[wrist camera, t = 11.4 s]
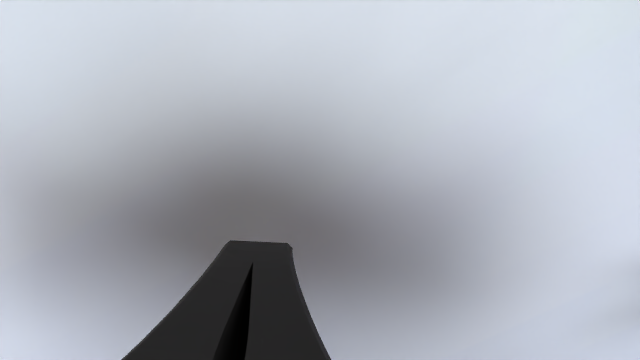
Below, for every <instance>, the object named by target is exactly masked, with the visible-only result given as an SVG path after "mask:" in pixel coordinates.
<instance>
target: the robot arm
mask: <svg viewBox="0 0 640 360" xmlns="http://www.w3.org/2000/svg"><path fill="white" fill-rule="evenodd" d="M122 360H331V359H330V357H329V355H328V353H327V351H326V349H325V347H324V344H323V342H322V340H321V338H320V336H319V334H318V332H317V329H316V327H315V325H314V322H313V320H312V318H311V315H310V313H309V310H308V307H307V305H306V302H305V300H304V297H303V294H302V291H301V288H300V285H299V282H298V278H297V275H296V271H295V267H294V262H293V254H292V247H291V246H290V245H289V244H288V243H271V242H250V241H229V242H228V243H227V244H226V245H225V246H224V247H223V249H222V250H221V251H220V253H219V254H218V255H217V257H216V258H215V259H214V261H213V262H212V263H211V265H210V266H209V267H208V268H207V270H206V271H205V272H204V273H203V275H202V276H201V277H200V278H199V280H198V281H197V282H196V283H195V284H194V285H193V287H192V288H191V289H190V290H189V291H188V292H187V293H186V295H185V296H184V297H183V298H182V299H181V300H180V301H179V303H178V304H177V305H176V306H175V307H174V308H173V309H172V310H171V311H170V312H169V313H168V314H167V315H166V316H165V317H164V318H163V320H162V321H161V322H160V323H159V324H158V325H157V326H156V327H155V328H154V329H153V330H152V331H151V332H150V333H149V334H148V335H147V336H146V337H145V338H144V339H143V340H142V341H141V342H140V343H139V344H138V345H137V346H136V347H135V348H134V349H132V350H131V351H130V352H129V353H128V354H127V355H126V356H125V357H124V358H123V359H122Z"/></svg>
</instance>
